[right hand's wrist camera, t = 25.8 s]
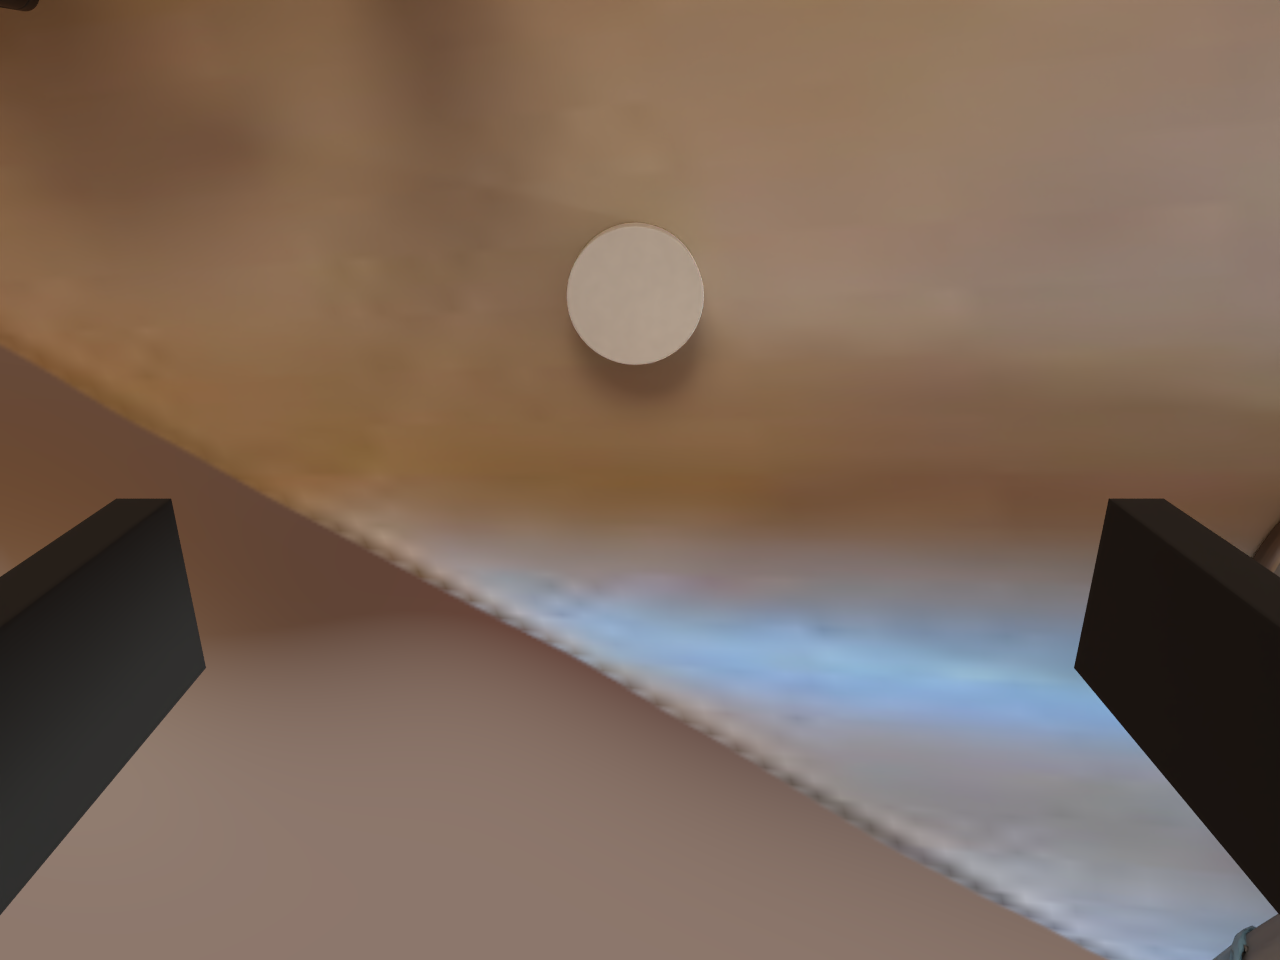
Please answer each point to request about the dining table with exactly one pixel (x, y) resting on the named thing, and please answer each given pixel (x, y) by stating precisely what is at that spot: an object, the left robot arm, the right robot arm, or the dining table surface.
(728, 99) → the dining table surface
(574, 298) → the white cylinder with groove
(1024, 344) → the dining table surface
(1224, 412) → the dining table surface
